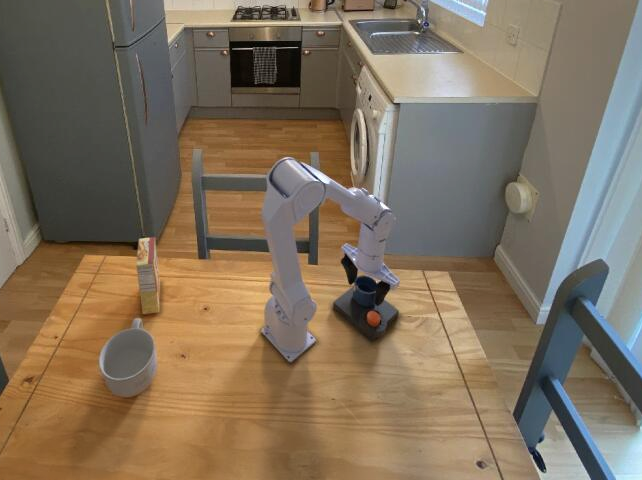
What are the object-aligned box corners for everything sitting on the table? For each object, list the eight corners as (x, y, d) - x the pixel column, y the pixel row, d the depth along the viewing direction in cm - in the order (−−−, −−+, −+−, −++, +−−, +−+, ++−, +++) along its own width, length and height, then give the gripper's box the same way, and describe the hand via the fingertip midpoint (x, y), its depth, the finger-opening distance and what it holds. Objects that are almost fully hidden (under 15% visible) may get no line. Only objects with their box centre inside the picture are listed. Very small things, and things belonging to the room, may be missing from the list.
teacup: (146, 411, 79) (141, 384, 76) (93, 400, 81) (87, 372, 78) (171, 344, 92) (168, 318, 89) (125, 335, 94) (121, 310, 91)
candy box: (144, 285, 107) (137, 238, 101) (161, 283, 107) (155, 236, 101) (142, 315, 99) (135, 265, 93) (160, 312, 99) (154, 263, 93)
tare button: (363, 320, 93) (364, 315, 92) (371, 313, 94) (372, 308, 94) (374, 329, 91) (375, 324, 90) (382, 322, 92) (383, 317, 92)
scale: (330, 309, 99) (331, 299, 98) (359, 286, 105) (360, 276, 104) (374, 348, 90) (376, 336, 89) (403, 320, 96) (405, 309, 95)
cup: (348, 297, 100) (349, 283, 98) (362, 285, 103) (364, 271, 102) (366, 312, 96) (368, 298, 94) (381, 299, 99) (383, 285, 98)
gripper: (410, 257, 91) (402, 303, 96) (356, 223, 101) (351, 266, 106) (391, 273, 87) (384, 320, 92) (336, 235, 97) (332, 279, 102)
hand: (365, 292), depth 99 cm, fingers open, 7 cm apart
